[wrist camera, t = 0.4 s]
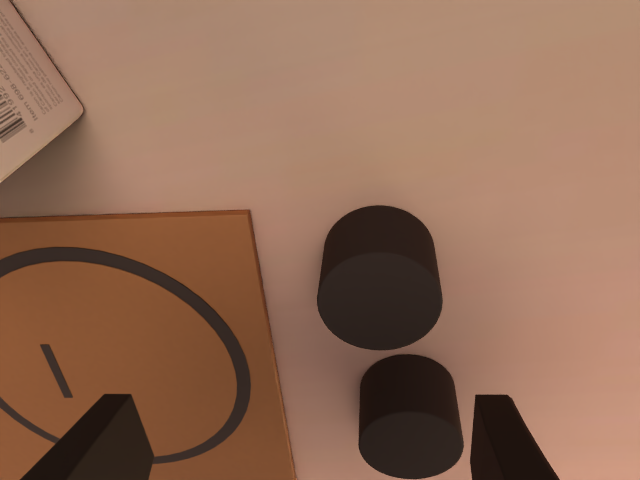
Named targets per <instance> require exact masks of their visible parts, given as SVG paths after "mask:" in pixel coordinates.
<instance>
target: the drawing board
mask: <svg viewBox="0 0 640 480" xmlns="http://www.w3.org/2000/svg"><path fill="white" fill-rule="evenodd" d="M104 394H131V395H132V397H133V400H134V403H135V405H136V408H137V411H138V413H139V416H140V419H141V421H142V424H143V427H144V429H145V432H146V435H147V437H148V440H149V443H150V445H151V448H152V451H153V453H154V460H153V464H152V468H151V472H150V476H149V480H296V476H295V470H294V464H293V458H292V453H291V447H290V441H289V435H288V429H287V424H286V418H285V412H284V406H283V400H282V395H281V389H280V383H279V377H278V371H277V366H276V360H275V354H274V348H273V342H272V337H271V331H270V325H269V319H268V314H267V308H266V302H265V296H264V290H263V285H262V279H261V273H260V267H259V261H258V256H257V250H256V244H255V238H254V232H253V227H252V221H251V215H250V210H230V211H200V212H171V213H141V214H112V215H82V216H53V217H23V218H0V480H20V479H21V478H22V477H23V476H24V475H25V474H26V473H27V472H28V471H29V470H30V469H31V468H32V467H33V466H34V465H35V464H36V463H37V462H38V461H39V460H40V459H41V458H42V457H43V456H44V455H45V454H46V453H47V452H48V451H49V450H50V449H51V448H52V447H53V446H54V445H55V444H56V443H57V442H58V441H59V440H60V439H61V438H62V437H63V435H64V434H65V433H66V432H67V431H68V430H69V429H70V428H71V427H72V426H73V425H74V424H75V423H76V422H77V421H78V420H79V419H80V418H81V417H82V416H83V415H84V414H85V413H86V412H87V411H88V410H89V409H90V408H91V407H92V406H93V405H94V404H95V403H96V402H97V401H98V400H99V399H100V398H101V397H102V396H103V395H104Z"/></svg>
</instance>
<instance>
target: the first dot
mask: <svg viewBox="0 0 640 480" xmlns="http://www.w3.org/2000/svg"><path fill="white" fill-rule="evenodd" d="M358 445H359V450H360V453H361V455H362V457H363V458H364V460H365V461H366V462H367V463H368V464H369V465H370V466H371V467H373V468H374V469H376V470H377V471H379V472H381V473H384V474H386V475H389V476H392V477H397V478H403V479H422V478H428V477H432V476H436V475H438V474H441V473H443V472H445V471H447V470H448V469H450V468H451V467H452V466H454V465H455V464H456V463H457V461H458V460H459V459H460V457H461V455H462V452H463V447H464V442H463V436H462V430H461V423H460V417H459V410H458V404H457V398H456V391H455V385H454V381H453V379H452V377H451V375H450V373H449V372H448V371H447V370H446V369H445V368H444V367H443V366H442V365H440V364H439V363H437V362H435V361H433V360H431V359H428V358H426V357H422V356H416V355H398V356H393V357H389V358H386V359H383V360H381V361H379V362H377V363H376V364H374V365H373V366H372V367H370V368H369V369H368V370H367V372H366V373H365V374H364V376H363V378H362V380H361V385H360V412H359V444H358Z"/></svg>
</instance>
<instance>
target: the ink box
mask: <svg viewBox="0 0 640 480" xmlns="http://www.w3.org/2000/svg"><path fill="white" fill-rule="evenodd" d="M82 113H83V107H82V105H81V103H80V102H79V101H78V99H77V98H76V96H75V95H74V94H73V92H72V91H71V89H70V88H69V86H68V85H67V83H66V82H65V81H64V79H63V78H62V76H61V75H60V73H59V72H58V71H57V69H56V68H55V66H54V65H53V63H52V62H51V60H50V59H49V57H48V56H47V54H46V53H45V51H44V50H43V49H42V47H41V46H40V44H39V43H38V41H37V40H36V38H35V37H34V36H33V34H32V33H31V31H30V30H29V28H28V27H27V25H26V24H25V23H24V21H23V20H22V18H21V17H20V15H19V14H18V12H17V11H16V10H15V8H14V7H13V5H12V4H11V2H10V1H9V0H0V183H1V182H2V181H3V180H4V179H6V178H7V177H8V176H9V175H11V174H12V173H13V172H14V171H15V170H17V169H18V168H19V167H20V166H21V165H23V164H24V163H25V162H26V161H28V160H29V159H30V158H31V157H32V156H34V155H35V154H36V153H37V152H38V151H40V150H41V149H42V148H43V147H44V146H46V145H47V144H48V143H49V142H51V141H52V140H53V139H54V138H55V137H57V136H58V135H59V134H60V133H61V132H63V131H64V130H65V129H66V128H67V127H69V126H70V125H71V124H72V123H73V122H74V121H76V120H77V119H78V118H79V117H80V116H81V115H82Z"/></svg>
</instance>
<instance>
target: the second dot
mask: <svg viewBox="0 0 640 480" xmlns="http://www.w3.org/2000/svg"><path fill="white" fill-rule="evenodd" d="M442 303H443V302H442V292H441V285H440V279H439V273H438V267H437V261H436V254H435V248H434V243H433V239H432V237H431V234H430V233H429V231H428V229H427V228H426V227H425V225H424V224H423V223H422V222H421V221H420V220H419V219H417V218H416V217H415V216H413V215H412V214H410V213H408V212H406V211H403V210H401V209H398V208H394V207H389V206H369V207H364V208H361V209H358V210H355V211H353V212H351V213H349V214H347V215H346V216H344V217H342V218H341V219H340V220H339V221H338V222H337V223H336V224H335V225H334V226H333V227H332V229H331V230H330V232H329V234H328V236H327V238H326V241H325V246H324V253H323V260H322V267H321V274H320V281H319V288H318V295H317V305H318V311H319V313H320V316H321V318H322V320H323V322H324V323H325V325H326V326H327V327H328V329H329V330H330V331H331V332H332V333H333V334H334V335H336V336H337V337H338V338H340V339H341V340H343V341H345V342H347V343H349V344H351V345H354V346H357V347H360V348H364V349H370V350H391V349H397V348H401V347H404V346H407V345H410V344H412V343H414V342H416V341H418V340H419V339H421V338H422V337H424V336H425V335H426V334H427V333H428V332H429V331H430V330H431V329H432V328H433V327H434V325H435V324H436V322H437V320H438V318H439V316H440V313H441V310H442Z"/></svg>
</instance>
